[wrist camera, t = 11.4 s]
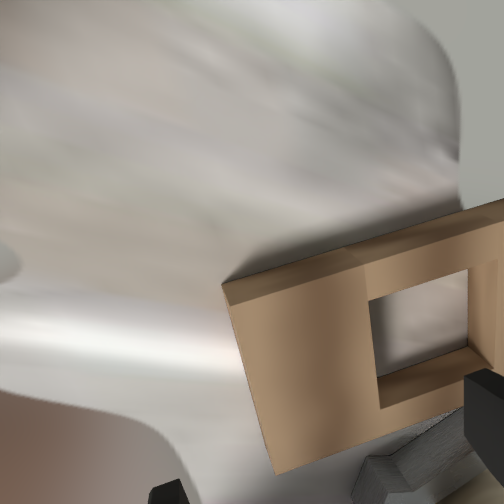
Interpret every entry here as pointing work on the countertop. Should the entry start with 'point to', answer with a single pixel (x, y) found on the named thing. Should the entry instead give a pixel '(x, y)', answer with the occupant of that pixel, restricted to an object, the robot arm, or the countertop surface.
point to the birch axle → (477, 491)
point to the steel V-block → (421, 467)
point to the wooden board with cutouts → (362, 335)
